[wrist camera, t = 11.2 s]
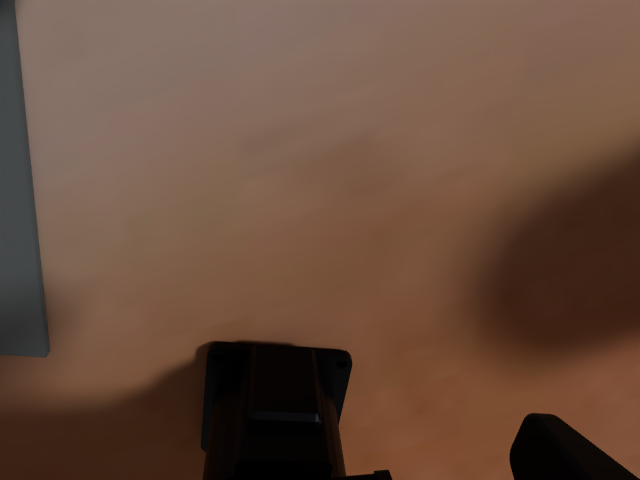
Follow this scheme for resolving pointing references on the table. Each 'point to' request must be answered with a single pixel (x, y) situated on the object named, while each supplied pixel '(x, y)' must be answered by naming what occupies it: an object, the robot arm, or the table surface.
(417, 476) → the table surface
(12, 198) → the mat
